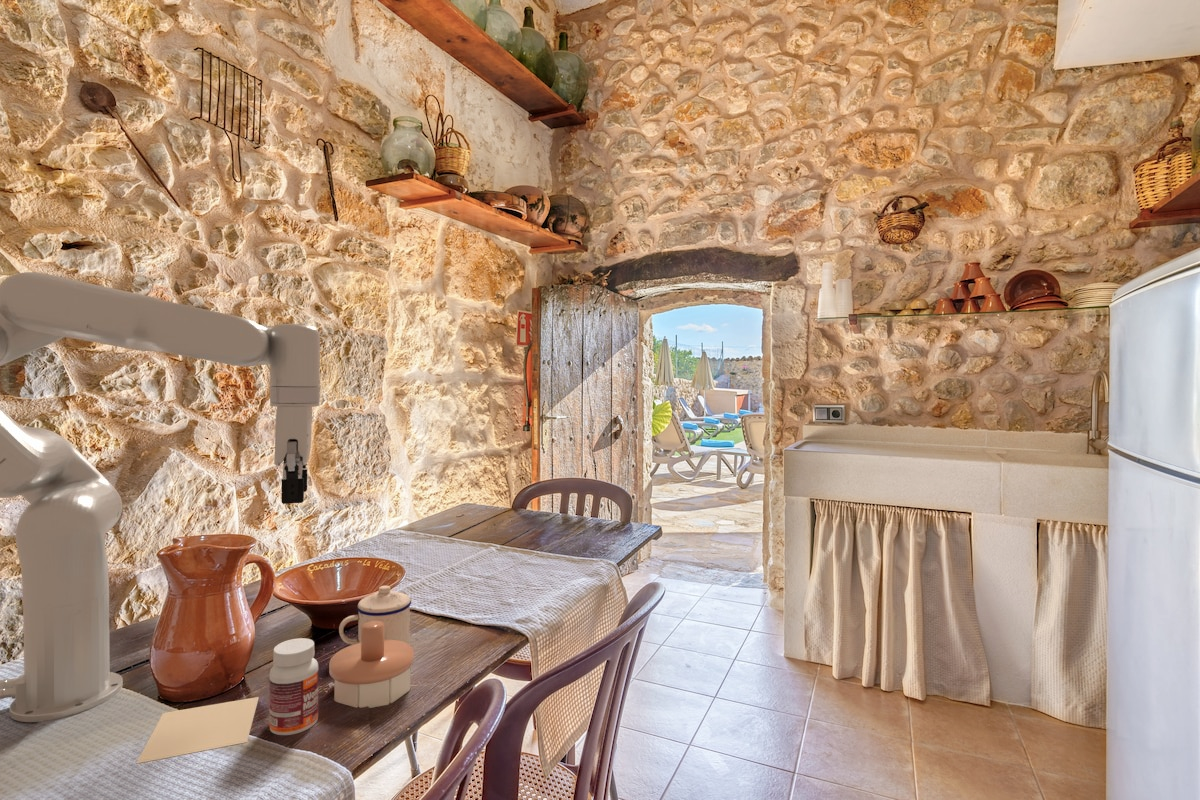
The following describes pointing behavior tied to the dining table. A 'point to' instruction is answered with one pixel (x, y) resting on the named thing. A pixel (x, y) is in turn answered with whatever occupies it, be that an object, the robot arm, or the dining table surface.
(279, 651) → the pill bottle
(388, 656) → the lid
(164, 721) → the mat
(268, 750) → the dining table surface
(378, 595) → the teacup with lid
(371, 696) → the bowl
